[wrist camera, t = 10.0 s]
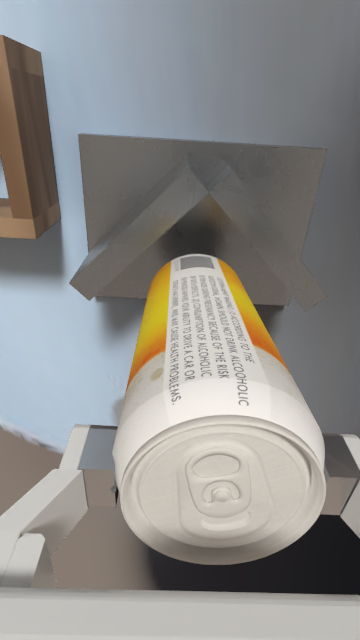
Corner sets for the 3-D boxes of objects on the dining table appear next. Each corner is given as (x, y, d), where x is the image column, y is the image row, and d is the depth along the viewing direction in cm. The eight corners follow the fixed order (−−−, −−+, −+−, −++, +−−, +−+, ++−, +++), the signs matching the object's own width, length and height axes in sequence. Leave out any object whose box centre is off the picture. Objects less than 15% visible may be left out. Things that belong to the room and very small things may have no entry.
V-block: (321, 148, 23) (382, 161, 16) (285, 300, 29) (318, 357, 22) (82, 133, 23) (38, 141, 16) (94, 290, 28) (67, 346, 22)
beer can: (158, 344, 24) (134, 584, 10) (139, 260, 21) (73, 429, 8) (245, 330, 23) (340, 560, 10) (236, 242, 21) (345, 389, 7)
